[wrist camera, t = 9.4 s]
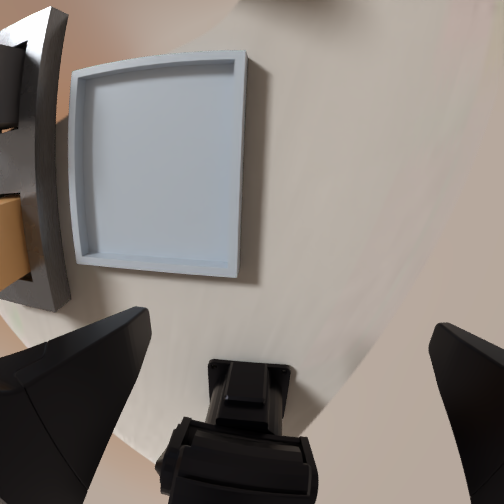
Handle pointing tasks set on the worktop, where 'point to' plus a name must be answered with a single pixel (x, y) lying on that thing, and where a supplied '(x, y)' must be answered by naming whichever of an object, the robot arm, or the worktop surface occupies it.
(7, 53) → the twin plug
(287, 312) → the worktop surface
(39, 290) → the grey slotted frame
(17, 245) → the orange block
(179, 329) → the worktop surface
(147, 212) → the tray
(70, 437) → the robot arm
